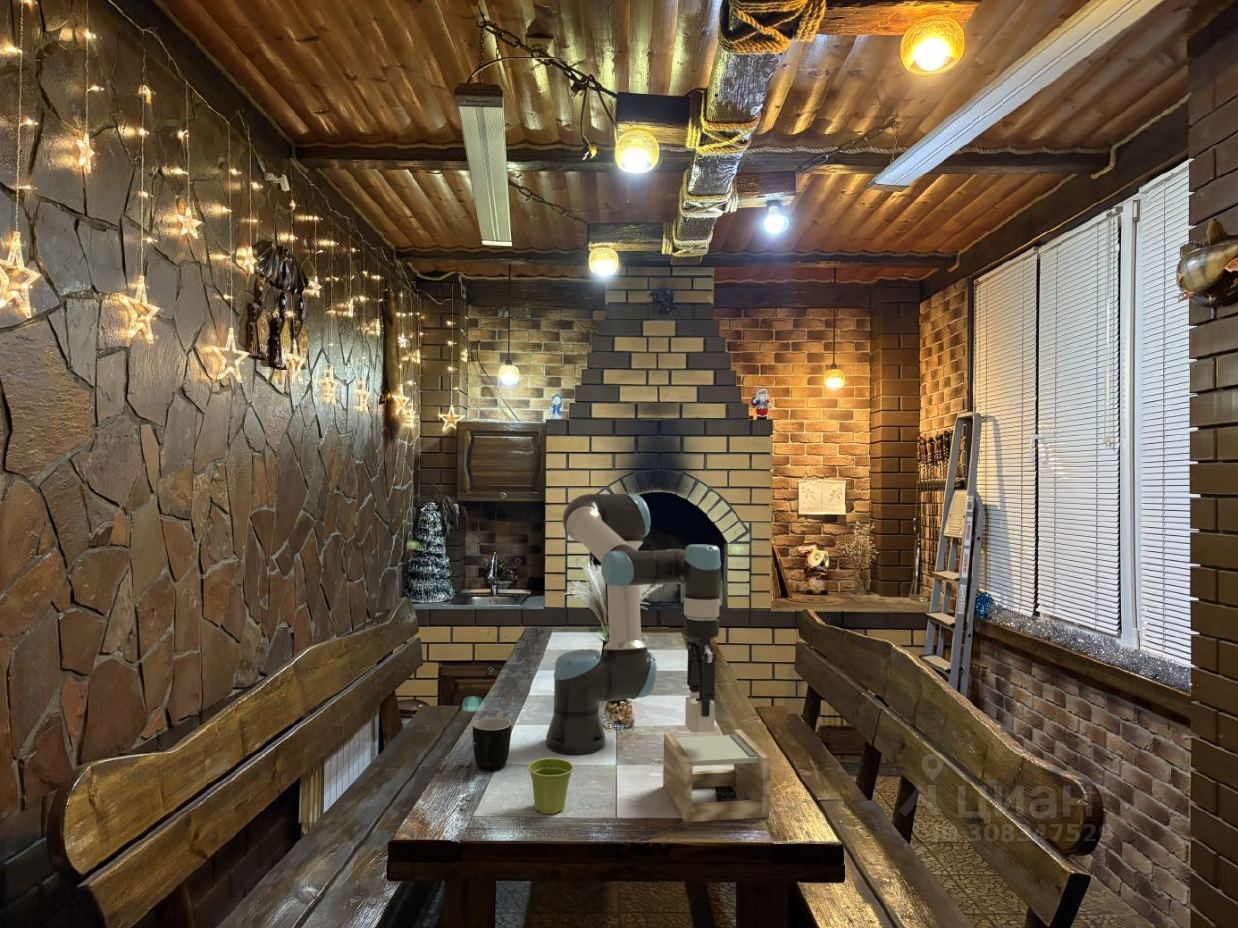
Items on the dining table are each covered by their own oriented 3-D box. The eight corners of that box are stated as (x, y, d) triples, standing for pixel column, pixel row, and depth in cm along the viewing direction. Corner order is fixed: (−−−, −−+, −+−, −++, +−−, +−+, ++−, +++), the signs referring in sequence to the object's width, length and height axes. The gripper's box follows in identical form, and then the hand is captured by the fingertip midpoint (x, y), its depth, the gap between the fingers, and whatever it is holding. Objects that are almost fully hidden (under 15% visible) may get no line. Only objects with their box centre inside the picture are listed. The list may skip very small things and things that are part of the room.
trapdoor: (692, 765, 157) (692, 759, 157) (674, 742, 171) (674, 736, 171) (757, 762, 160) (757, 755, 160) (735, 739, 174) (735, 733, 174)
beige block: (691, 732, 162) (692, 703, 162) (685, 724, 167) (685, 696, 167) (714, 731, 163) (714, 702, 163) (707, 723, 168) (707, 696, 168)
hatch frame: (684, 822, 155) (685, 762, 155) (662, 786, 173) (664, 732, 173) (769, 816, 158) (770, 757, 158) (739, 782, 176) (740, 729, 176)
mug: (476, 758, 187) (477, 716, 187) (513, 760, 186) (514, 718, 186) (464, 778, 175) (465, 733, 175) (503, 779, 174) (504, 734, 174)
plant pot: (573, 798, 165) (573, 757, 165) (572, 818, 156) (573, 775, 156) (529, 798, 165) (530, 757, 165) (525, 818, 155) (526, 775, 155)
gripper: (732, 624, 157) (730, 739, 157) (706, 609, 175) (704, 713, 174) (696, 625, 156) (694, 741, 155) (674, 610, 174) (672, 714, 173)
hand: (699, 726), depth 165 cm, fingers closed on beige block, 5 cm apart
